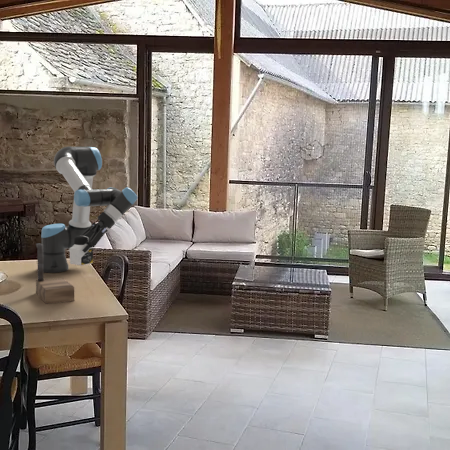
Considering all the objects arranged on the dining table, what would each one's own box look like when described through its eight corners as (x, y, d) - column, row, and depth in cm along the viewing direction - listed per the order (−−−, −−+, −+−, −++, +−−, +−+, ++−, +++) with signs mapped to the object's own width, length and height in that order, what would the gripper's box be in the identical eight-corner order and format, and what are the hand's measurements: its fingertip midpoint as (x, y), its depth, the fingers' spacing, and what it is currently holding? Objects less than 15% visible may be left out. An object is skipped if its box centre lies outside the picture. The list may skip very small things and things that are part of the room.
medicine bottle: (81, 266, 264) (81, 238, 262) (69, 263, 268) (69, 236, 266) (93, 263, 270) (93, 236, 268) (81, 261, 274) (81, 234, 272)
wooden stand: (35, 292, 273) (34, 243, 270) (62, 289, 279) (62, 242, 276) (45, 303, 256) (45, 251, 253) (74, 300, 262) (74, 250, 259)
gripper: (123, 226, 264) (87, 265, 259) (107, 219, 283) (73, 255, 278) (112, 214, 261) (75, 253, 255) (95, 208, 280) (61, 244, 274)
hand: (74, 254), depth 267 cm, fingers closed on medicine bottle, 9 cm apart
